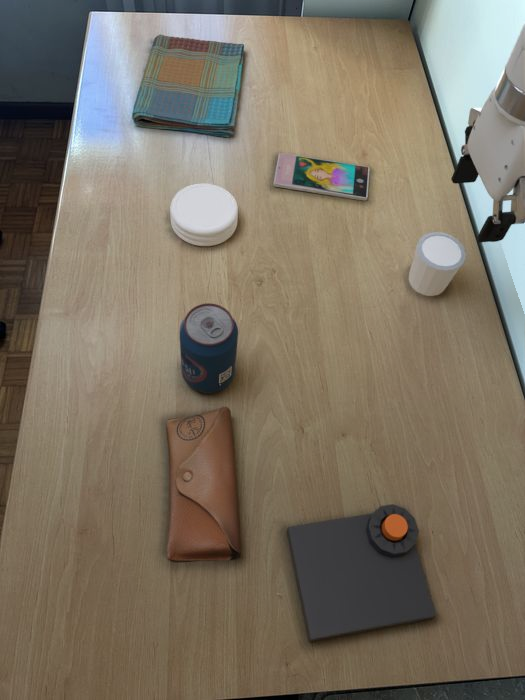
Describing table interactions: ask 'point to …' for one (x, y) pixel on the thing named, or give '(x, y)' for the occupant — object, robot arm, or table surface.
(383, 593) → the scale
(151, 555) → the table surface
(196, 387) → the soda can
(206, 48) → the dish towel
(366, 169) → the smartphone
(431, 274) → the white cylinder
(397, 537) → the button
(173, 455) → the sunglasses case
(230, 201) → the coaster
